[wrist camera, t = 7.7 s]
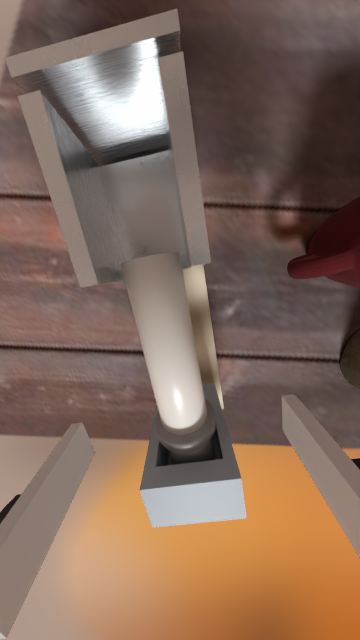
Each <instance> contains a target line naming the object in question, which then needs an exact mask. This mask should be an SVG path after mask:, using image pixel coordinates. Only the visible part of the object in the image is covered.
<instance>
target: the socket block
mask: <svg viewBox="0 0 360 640" xmlns="http://www.w3.org/2000/svg"><path fill="white" fill-rule="evenodd" d="M202 386H203V392H204V397H205V398H206V399H207V400H208V401H209V402H210V403H211V405H212V406H213V409H214V414H215V421H216V428H215V431H214V434H213V436H212V443H213V449H214V455H215V460H209V461H201V462H193V463H184V464H176V465H173V464H172V460H171V456H170V453H169V450H168V449H167V448H165V447H164V446H163V445H162V444H161V442H160V441H159V439H158V436H157V432H156V428H155V416H156V414H157V411H158V406H157V405H156V410H155V416H154V421H153V426H152V431H151V436H150V441H149V446H148V451H147V456H146V461H145V466H144V471H143V477H142V482H141V486H140V492H141V495H142V498H143V501H144V504H145V507H146V510H147V513H148V515H149V519H150V522H151V525H152V527H163V526H173V525H183V524H193V523H203V522H213V521H223V520H234V519H244V518H246V511H245V503H244V495H243V487H242V479H241V475H240V472H239V468H238V465H237V461H236V458H235V454H234V451H233V447H232V443H231V440H230V436H229V433H228V429H227V426H226V422H225V419H224V415H223V412H222V408H221V405H220V401H219V398H218V394H217V390H216V387H215V383H211V384H204V385H202Z"/></svg>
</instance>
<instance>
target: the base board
mask: <svg viewBox="0 0 360 640" xmlns="http://www.w3.org/2000/svg"><path fill="white" fill-rule="evenodd" d="M182 271H183V277H184V283H185V288H186V294H187V300H188V306H189V311H190V317H191V323H192V329H193V334H194V340H195V346H196V351H197V357H198V363H199V369H200V374H201V380H202V385H204V384H211V383H215V387H216V390H217V394H218V398H219V401H220V405H221V408H222V409H224V406H223V399H222V392H221V385H220V379H219V372H218V365H217V358H216V351H215V344H214V337H213V330H212V323H211V316H210V309H209V302H208V295H207V288H206V281H205V274H204V267H203V265H202V266H199V267H195V268H190V269H184V270H182Z"/></svg>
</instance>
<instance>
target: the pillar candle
mask: <svg viewBox="0 0 360 640" xmlns="http://www.w3.org/2000/svg"><path fill="white" fill-rule="evenodd" d="M340 365H341V371H342V374H343V375H344V377H345V379H346V380H347V381H348V382H349V383H351V384H352V385H354V386H355V387H357V388H359V389H360V329H359V330H358V331H357V332H356V333H355V334H354V335H353V336H352V338H350V340H349V342H348V343H347V345H346V347H345V349H344V351H343V354H342V357H341V362H340Z"/></svg>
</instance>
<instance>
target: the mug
mask: <svg viewBox="0 0 360 640" xmlns="http://www.w3.org/2000/svg"><path fill="white" fill-rule="evenodd" d="M287 269H288V274H289V275H290V277H292V278H295V279H308V278H316V277H322V276H325V277H327V278H329V279H331V280H334V281H337V282H340V283H344V284H347V285H351V286H354V287H357V288H360V197H358V198H357V199H355V200H353V201H352V202H350V203H349V204H347V205H345V206H344V207H342V208H341V209H339V210H338V211H336V212H335V213H334V214H333V215H331V216H330V217H329V218H328V219H327V220H326V221H325V222H324V223H323V224H322V225H321V227H320V228H319V229H318V230H317V232H316V233H315V235H314V236H313V238H312V239H311V241H310V244H309V247H308V254H307V255H303V256H300V257H297V258H294V259H293V260H291V261H290V262H289V263H288V267H287Z"/></svg>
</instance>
